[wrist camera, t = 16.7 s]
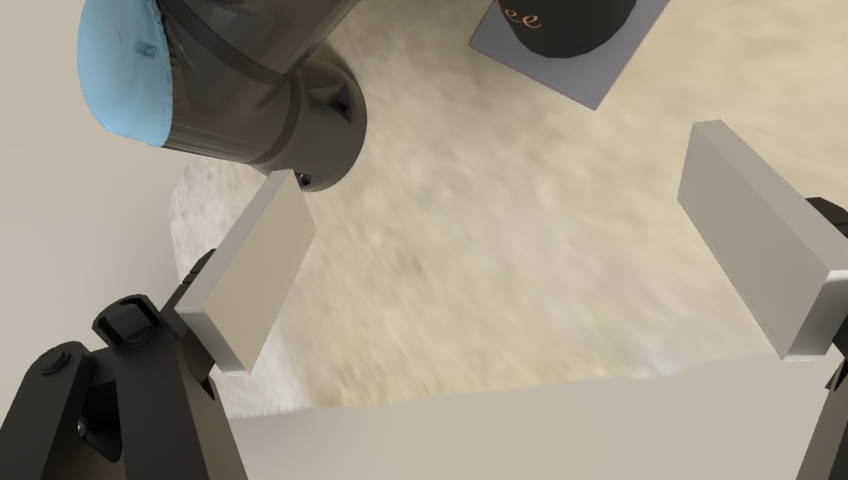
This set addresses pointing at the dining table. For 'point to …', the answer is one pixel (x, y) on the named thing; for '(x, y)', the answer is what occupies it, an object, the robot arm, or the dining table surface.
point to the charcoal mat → (575, 75)
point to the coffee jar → (565, 24)
